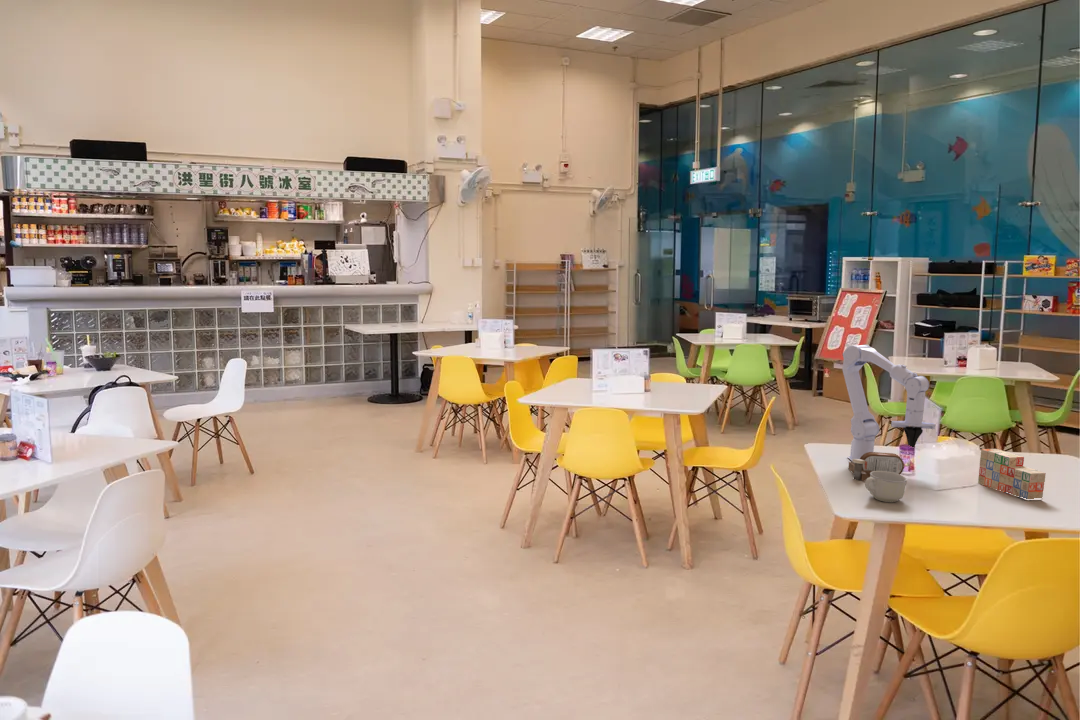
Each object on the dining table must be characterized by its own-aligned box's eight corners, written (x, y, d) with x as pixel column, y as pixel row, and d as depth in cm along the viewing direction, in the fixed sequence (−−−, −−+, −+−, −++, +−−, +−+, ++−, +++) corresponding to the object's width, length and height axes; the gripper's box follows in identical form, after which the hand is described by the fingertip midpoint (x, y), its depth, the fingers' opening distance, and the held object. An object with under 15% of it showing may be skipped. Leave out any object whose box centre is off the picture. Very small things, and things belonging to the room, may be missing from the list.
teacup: (891, 494, 263) (893, 470, 262) (912, 504, 253) (914, 479, 252) (852, 495, 261) (854, 470, 260) (871, 505, 250) (873, 480, 249)
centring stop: (839, 468, 294) (841, 450, 294) (863, 469, 294) (865, 451, 293) (852, 480, 279) (854, 461, 278) (878, 481, 278) (880, 462, 277)
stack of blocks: (1043, 501, 262) (1047, 463, 260) (1026, 501, 261) (1031, 464, 259) (992, 482, 283) (996, 448, 281) (977, 483, 281) (980, 448, 280)
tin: (900, 476, 286) (903, 453, 285) (904, 478, 283) (906, 455, 282) (857, 474, 288) (859, 450, 286) (859, 476, 284) (861, 452, 283)
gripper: (897, 411, 284) (894, 449, 286) (940, 413, 283) (936, 451, 285) (890, 407, 291) (887, 444, 293) (932, 409, 290) (928, 446, 292)
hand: (911, 447), depth 289 cm, fingers closed
